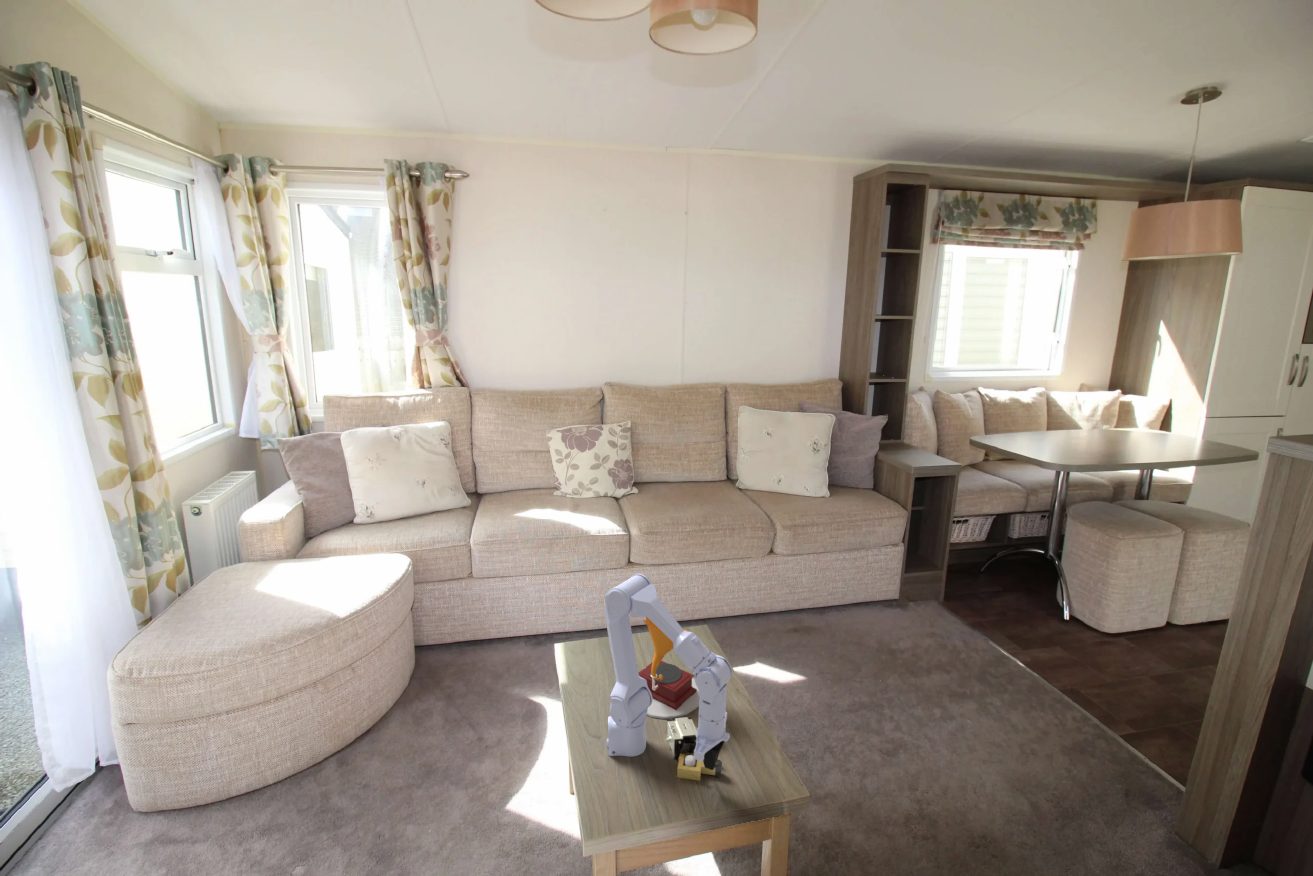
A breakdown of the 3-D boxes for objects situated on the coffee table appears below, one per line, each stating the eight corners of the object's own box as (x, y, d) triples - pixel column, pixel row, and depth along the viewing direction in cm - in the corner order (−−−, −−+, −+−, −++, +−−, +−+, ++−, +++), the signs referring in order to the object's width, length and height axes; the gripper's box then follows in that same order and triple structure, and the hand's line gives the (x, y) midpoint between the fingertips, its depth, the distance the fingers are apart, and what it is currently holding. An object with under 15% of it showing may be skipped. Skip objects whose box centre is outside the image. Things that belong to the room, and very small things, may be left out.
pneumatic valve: (720, 758, 141) (671, 764, 139) (707, 730, 153) (661, 735, 151) (721, 736, 141) (671, 741, 139) (707, 709, 152) (661, 714, 150)
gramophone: (672, 734, 151) (674, 645, 145) (611, 702, 163) (610, 618, 157) (716, 693, 167) (718, 611, 161) (657, 666, 179) (657, 589, 173)
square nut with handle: (720, 783, 134) (721, 772, 133) (677, 777, 135) (677, 766, 135) (722, 766, 139) (722, 755, 138) (680, 760, 140) (680, 749, 140)
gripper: (717, 740, 121) (714, 797, 124) (740, 699, 134) (738, 751, 137) (685, 729, 124) (683, 784, 127) (711, 689, 137) (709, 741, 140)
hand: (709, 766), depth 132 cm, fingers closed
